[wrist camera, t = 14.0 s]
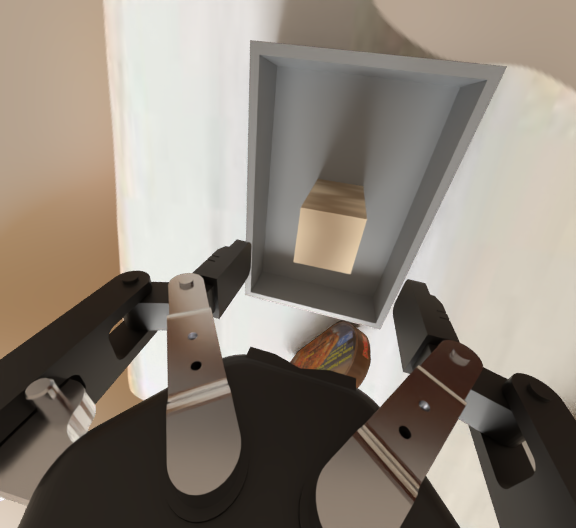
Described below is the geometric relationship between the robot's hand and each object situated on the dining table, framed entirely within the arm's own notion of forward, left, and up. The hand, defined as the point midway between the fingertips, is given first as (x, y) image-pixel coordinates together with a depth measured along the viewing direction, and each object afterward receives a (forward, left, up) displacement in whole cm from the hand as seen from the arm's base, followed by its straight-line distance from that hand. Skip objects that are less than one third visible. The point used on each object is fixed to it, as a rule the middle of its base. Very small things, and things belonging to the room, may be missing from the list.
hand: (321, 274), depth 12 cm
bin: (0, 0, -13) cm, 13 cm away
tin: (-3, +20, -13) cm, 24 cm away
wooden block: (0, 0, -12) cm, 12 cm away
